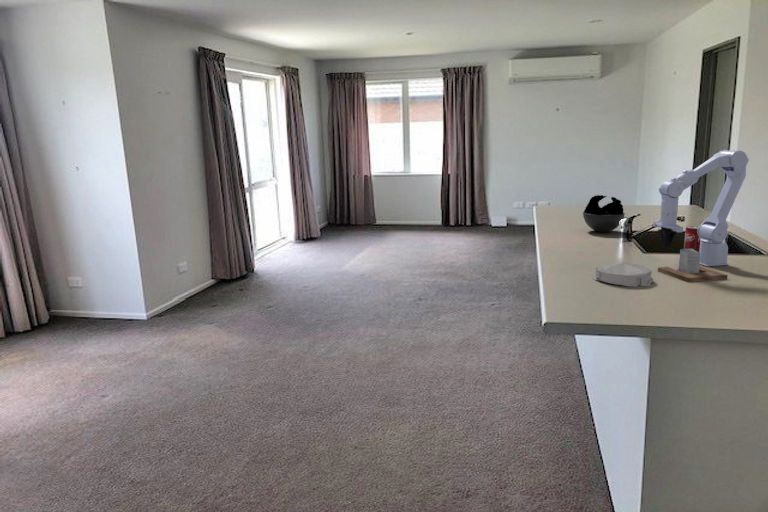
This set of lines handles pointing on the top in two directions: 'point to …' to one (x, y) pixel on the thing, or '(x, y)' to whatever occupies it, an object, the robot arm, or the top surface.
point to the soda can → (692, 238)
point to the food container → (624, 274)
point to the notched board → (693, 274)
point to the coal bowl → (603, 214)
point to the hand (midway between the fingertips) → (666, 247)
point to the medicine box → (689, 261)
